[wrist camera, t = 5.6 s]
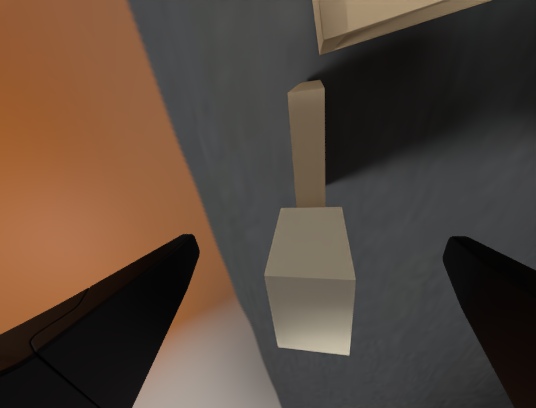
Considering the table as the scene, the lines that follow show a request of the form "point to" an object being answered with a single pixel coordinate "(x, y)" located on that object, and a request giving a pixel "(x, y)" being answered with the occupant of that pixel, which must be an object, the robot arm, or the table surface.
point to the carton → (375, 18)
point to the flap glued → (310, 243)
